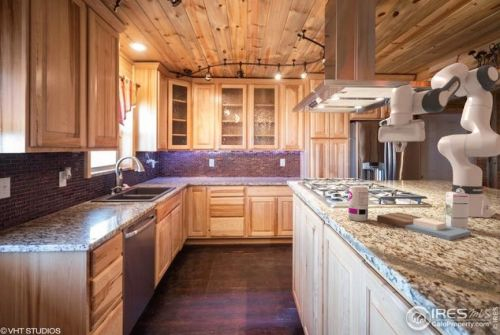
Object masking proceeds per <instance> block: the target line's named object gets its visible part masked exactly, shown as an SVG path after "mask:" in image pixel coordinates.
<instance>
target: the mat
mask: <svg viewBox="0 0 500 335" xmlns="http://www.w3.org/2000/svg"><path fill="white" fill-rule="evenodd" d="M404 229H406V230H409V231H413V232H417V233H420V234H424V235H428V236H432V237H434V238H438V239H441V240H442V239H443V240H446V241H449V240H450V241H453V239H454V240H457V239H460V238H466V237H468V236H471V235H472V230H465V229H460V228H456V227H451V226H447V225H446V228H445V229H440V230H434V229H430V228H426V227H422V226H418V225H414V224H408V225H405V228H404Z"/></svg>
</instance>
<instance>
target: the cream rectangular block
mask: <svg viewBox="0 0 500 335" xmlns="http://www.w3.org/2000/svg"><path fill="white" fill-rule="evenodd" d="M413 224H414V225H418V226H422V227H426V228H430V229H434V230H440V229H445V228H446V223H445V221H444V222H443V221H439V220H435V219H430V218H425V217H422V218H418V219H413Z"/></svg>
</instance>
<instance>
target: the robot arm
mask: <svg viewBox="0 0 500 335" xmlns="http://www.w3.org/2000/svg"><path fill="white" fill-rule="evenodd" d="M499 79H500V73H499V70H498V69H497V67H496V66H493V65H492V64H485V65H481V66H479V67H478V68H477V67H476V68H475V69H472V70H469V67H468V66H467V65H466V64H465V63H462V62H455V63H452V64H449V65H446V67H444V68H442V69H441V70H440V71H438V72H436V74H435V75H434V76H433V77H432V78H431V80H430V86H431V89H430V90H424V91H419V92H417V91H415V90H414V89H413V86H412V84H411V83H404V84H399V85H395V86H394V87H392V90H391V93H390V100H389V101H390V103H389V104H390V105H389V106H390V113H389V117H388V118H386V119H383V120H381V121H379V126H380V127H379V128H378V137H377V138H378V141H379V142H380V143H393V144H392V145H393V146H394V148H395V152H396V153H404V152H405V148H406V147H407V145H408V142H424V140H426V131H425V130H426V129H425V124H426V123H425V121H424V120H423V119H413V115H415V116H416V115H423V114H432V113H433V114H435V113H437V114H438V113H440V112H442V111H443V110H444V109H445V108H446V107H447V105H448V103H449V101H450V99H451V98H452V99H459V98H462V97H465V96H466V98H467V100H466V102H465V103H464V108H463V110H462V114H461V119H460V126H461V127H462V129H464V130H465V131H469V132H471V133H468V134H467V133H465V134H450V135H446V136H442V137H441V138H440V139H439V141H438V142H437V149H438V152H439V153H440V154H441V155H442V156H443V157H444V158H446V159H447V160H448V162H449V163H450V165H451V168H452V184H451V187H450V189H451V191H450V192H462V193H465V194H469V205H468V217H470V218H471V217H472V218H473V217H474V218H485V219H489V218H491V217H493V216H495V215H496V214H497V211H494V210H491V202H490V200H489V198H487V197H486V195H485V194H484V192H485V191H486V189H487V187H486V185H484V186H483V170H482V168H481V167H480V166H478V165H476V164H473V163H471V162H470V160H469V157H470V158H489V157H495V156H496V157H497V156H499V155H500V134H498V133H497V132H495V131H494V130H493V129H492V128H491V124H490V123H491V115H492V111H493V102H494V100H493V94H492V93H491V91H493V90H494V89H495V87H496V85H497V83H498V81H499ZM400 144H401V146H400ZM445 209H446V207H445V208H444V211H445Z"/></svg>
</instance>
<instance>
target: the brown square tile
mask: <svg viewBox="0 0 500 335" xmlns="http://www.w3.org/2000/svg"><path fill="white" fill-rule="evenodd" d="M418 218H423V217H421V216H415V215H411V214H407V213H403V212H392V213H385V214H379V215H377V216H376V222H379V223H383V224H385V225H386V224H387V225H390V226H394V227H397V228H401V229H405V225H408V224H413V219H418Z"/></svg>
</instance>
